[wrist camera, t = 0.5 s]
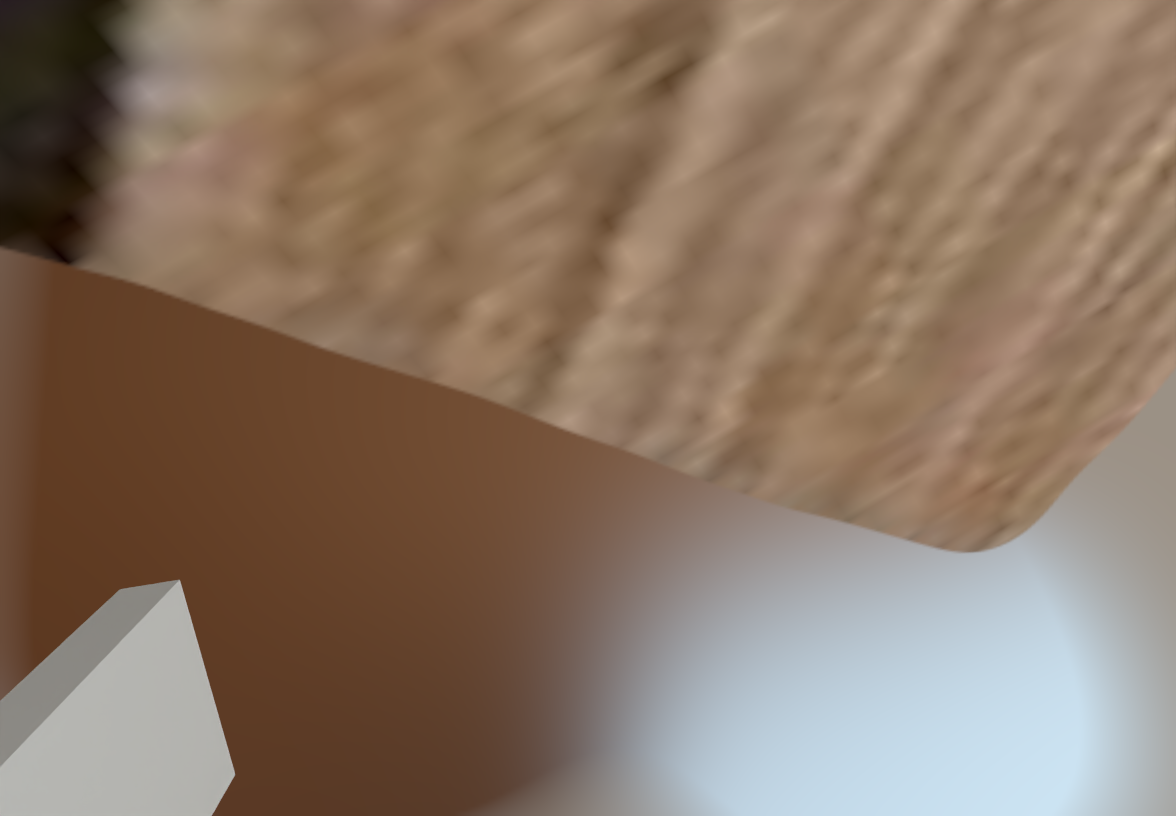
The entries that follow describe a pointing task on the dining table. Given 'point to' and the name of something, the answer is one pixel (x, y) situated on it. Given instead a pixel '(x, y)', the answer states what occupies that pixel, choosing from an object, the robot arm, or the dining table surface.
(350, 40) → the dining table surface
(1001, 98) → the dining table surface
